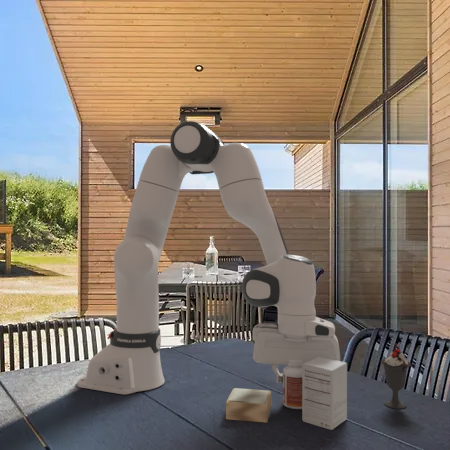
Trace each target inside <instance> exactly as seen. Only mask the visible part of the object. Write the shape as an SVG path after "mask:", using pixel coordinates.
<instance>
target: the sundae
mask: <svg viewBox="0 0 450 450" xmlns="http://www.w3.org/2000/svg"><path fill="white" fill-rule="evenodd" d="M397 346H398V343H395V344H394V347H393V350H392V351H391V352H390V353H389V355H388V356H387V357H386V358H383V359H382V360H380V363H381V364H383V368H384V376H385V382H386V385H387V387H388V388H389V389H390V390H391V391H392V397H391V399H390V400H386V401H384V403H383V404H384V406H386V407H387V408H390V409H393V410H394V409H395V410H403V409H406V408H407V405H406V403H404V402H402V401H400V399H399V391H401V390H402V389H403V388H404V387H405V384H406V380H407V379H406V378H407V373H408V368H410V367H411V366H412V364H411V362H410V361H409V360H408V359H407V358H406V355H405V354H404V353H403V352H401V349H399V348H398V347H397Z"/></svg>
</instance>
